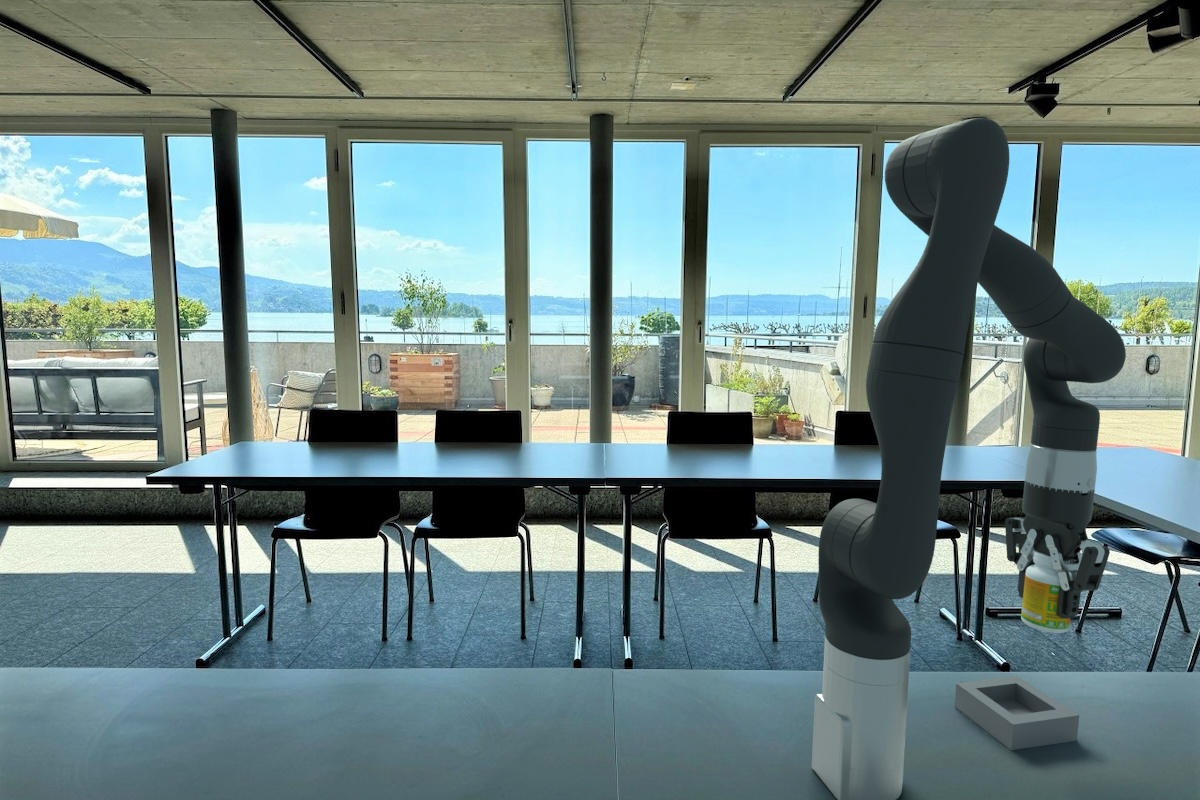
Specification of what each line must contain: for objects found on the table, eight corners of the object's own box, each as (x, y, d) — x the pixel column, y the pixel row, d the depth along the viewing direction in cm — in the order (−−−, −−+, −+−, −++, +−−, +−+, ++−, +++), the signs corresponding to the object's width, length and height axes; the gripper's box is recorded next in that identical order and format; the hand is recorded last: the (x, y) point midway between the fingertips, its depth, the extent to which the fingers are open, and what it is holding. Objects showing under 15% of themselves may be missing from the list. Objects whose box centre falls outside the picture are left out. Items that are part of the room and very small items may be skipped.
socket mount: (1011, 750, 86) (1013, 724, 85) (954, 706, 96) (956, 683, 95) (1076, 740, 88) (1079, 715, 87) (1014, 698, 98) (1016, 675, 97)
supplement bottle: (1046, 636, 86) (1054, 562, 85) (1010, 618, 91) (1017, 548, 90) (1079, 632, 88) (1087, 559, 87) (1042, 614, 93) (1049, 546, 92)
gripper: (991, 470, 94) (980, 588, 95) (1084, 495, 80) (1069, 633, 81) (1037, 469, 95) (1026, 585, 97) (1137, 494, 81) (1121, 630, 83)
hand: (1046, 607), depth 89 cm, fingers closed on supplement bottle, 5 cm apart
